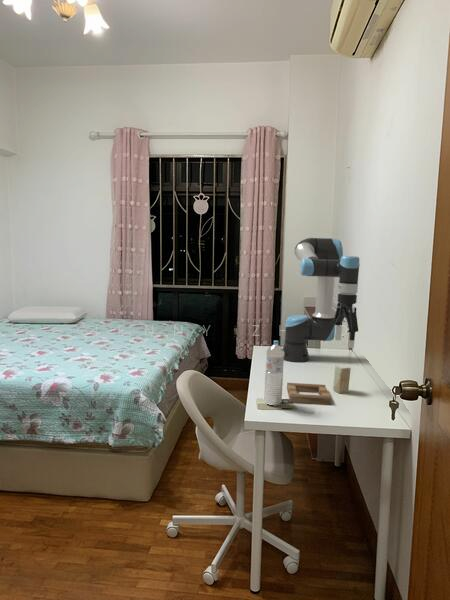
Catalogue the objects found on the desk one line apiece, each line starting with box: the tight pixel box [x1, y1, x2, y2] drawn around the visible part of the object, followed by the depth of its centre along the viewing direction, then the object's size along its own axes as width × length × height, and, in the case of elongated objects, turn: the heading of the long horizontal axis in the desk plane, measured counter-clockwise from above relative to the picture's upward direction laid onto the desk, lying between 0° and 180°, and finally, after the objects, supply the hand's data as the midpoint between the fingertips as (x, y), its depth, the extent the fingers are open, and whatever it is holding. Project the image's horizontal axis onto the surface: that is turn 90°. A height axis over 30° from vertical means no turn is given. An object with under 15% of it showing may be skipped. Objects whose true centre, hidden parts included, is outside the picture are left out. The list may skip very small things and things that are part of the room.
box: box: [332, 364, 351, 394], centre depth 183 cm, size 5×4×11 cm
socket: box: [286, 382, 333, 406], centre depth 177 cm, size 16×16×2 cm
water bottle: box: [263, 340, 285, 407], centre depth 166 cm, size 7×7×25 cm
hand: (343, 343), depth 180 cm, fingers open, 13 cm apart
